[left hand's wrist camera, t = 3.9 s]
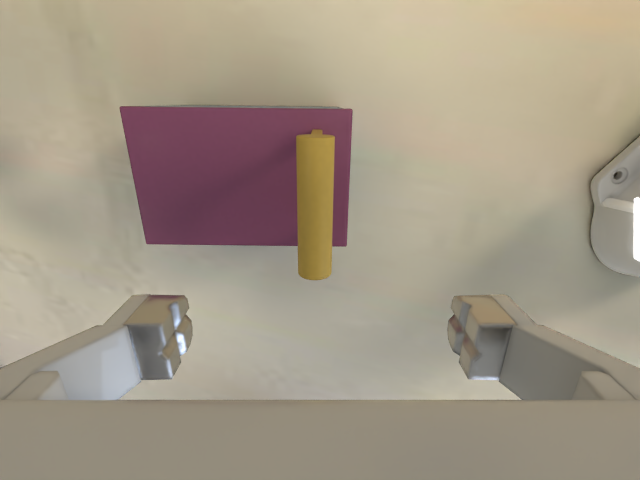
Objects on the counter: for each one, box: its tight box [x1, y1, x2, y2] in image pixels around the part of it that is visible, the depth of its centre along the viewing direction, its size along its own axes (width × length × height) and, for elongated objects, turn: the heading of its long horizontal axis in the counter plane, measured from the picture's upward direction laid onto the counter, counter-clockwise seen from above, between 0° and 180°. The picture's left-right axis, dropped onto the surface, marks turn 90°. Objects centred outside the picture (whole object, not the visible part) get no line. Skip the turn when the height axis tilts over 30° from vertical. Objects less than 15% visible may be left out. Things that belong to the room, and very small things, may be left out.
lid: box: [120, 106, 352, 280], centre depth 22 cm, size 16×10×9 cm, turn 89°
